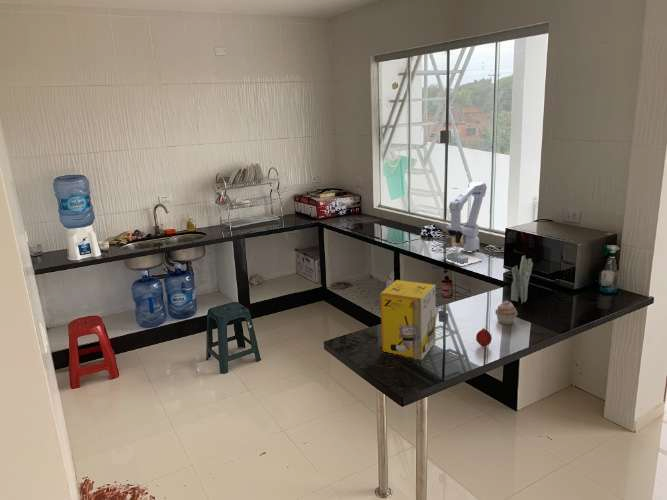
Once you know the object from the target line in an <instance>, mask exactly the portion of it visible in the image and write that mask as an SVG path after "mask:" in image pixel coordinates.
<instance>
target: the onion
mask: <svg viewBox="0 0 667 500" xmlns="http://www.w3.org/2000/svg"><path fill="white" fill-rule="evenodd" d="M475 337H476V338H475V341H476V343H478V345H479V346H481V347H482V348H485V347H487V346H489V345H490V344H491V342H492V339H493V337H492V334H491V333H490V331H488V329H486V328H485V327H482V329H481V330H479V331H478V332H477V334H476V336H475Z"/></svg>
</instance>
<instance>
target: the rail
mask: <svg viewBox="0 0 667 500" xmlns="http://www.w3.org/2000/svg"><path fill="white" fill-rule="evenodd" d="M464 244H466V235H465V234H463V235H462V237H461V240H460V243H456V236H455V235H452V236H450V235H449V236H445V237H444V247H445V248H448V249H450V248H454V247H459V246H464Z"/></svg>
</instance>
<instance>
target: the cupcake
mask: <svg viewBox="0 0 667 500" xmlns="http://www.w3.org/2000/svg"><path fill="white" fill-rule="evenodd" d="M495 315H496V316H497V317H496V318H497V322H498V323H499V324H501V325H506V326H507V325H508V326H509V325H512V324H514V322H515V319H516V317H517V316H518V311H517V309H516V308H515V306H514V304H513V303H512V302H511V301H509V300H504V301H502V303H501V304H499V305H498V306H497V308H496V309H495Z"/></svg>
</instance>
